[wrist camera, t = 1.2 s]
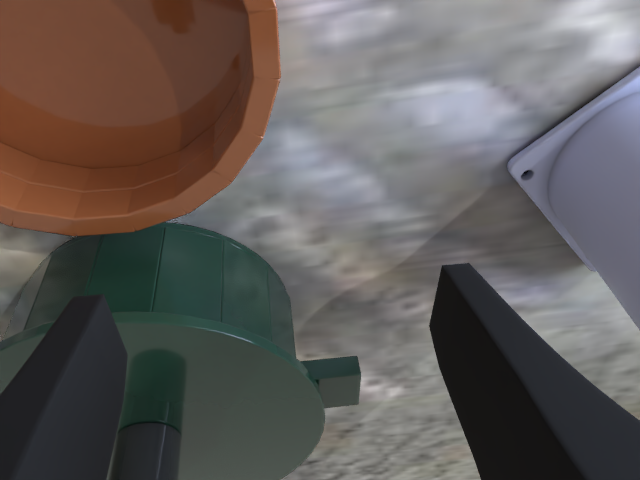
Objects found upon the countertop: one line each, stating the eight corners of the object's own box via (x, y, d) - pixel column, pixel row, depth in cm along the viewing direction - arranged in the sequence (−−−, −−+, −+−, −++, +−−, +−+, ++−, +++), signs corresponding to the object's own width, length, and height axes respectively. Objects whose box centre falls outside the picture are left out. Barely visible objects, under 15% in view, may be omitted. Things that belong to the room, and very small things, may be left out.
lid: (321, 472, 28) (334, 572, 25) (35, 506, 27) (5, 617, 23) (322, 279, 18) (343, 398, 15) (-126, 318, 17) (-219, 458, 14)
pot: (339, 373, 31) (356, 471, 27) (24, 406, 30) (-13, 515, 25) (346, 206, 23) (372, 307, 19) (-91, 238, 22) (-174, 357, 17)
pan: (281, 166, 21) (288, 221, 19) (-47, 188, 20) (-88, 249, 18) (257, -263, 13) (262, -272, 10) (-302, -265, 12) (-452, -276, 9)
